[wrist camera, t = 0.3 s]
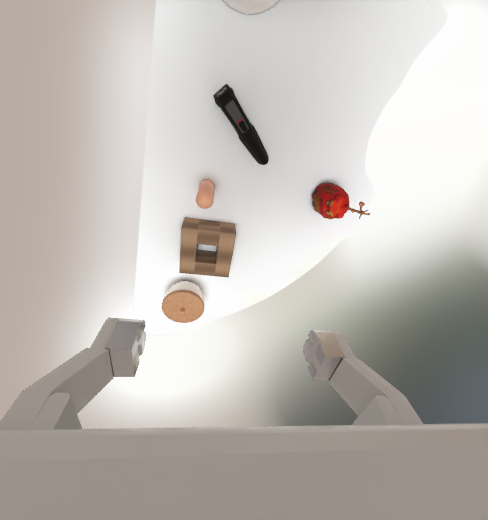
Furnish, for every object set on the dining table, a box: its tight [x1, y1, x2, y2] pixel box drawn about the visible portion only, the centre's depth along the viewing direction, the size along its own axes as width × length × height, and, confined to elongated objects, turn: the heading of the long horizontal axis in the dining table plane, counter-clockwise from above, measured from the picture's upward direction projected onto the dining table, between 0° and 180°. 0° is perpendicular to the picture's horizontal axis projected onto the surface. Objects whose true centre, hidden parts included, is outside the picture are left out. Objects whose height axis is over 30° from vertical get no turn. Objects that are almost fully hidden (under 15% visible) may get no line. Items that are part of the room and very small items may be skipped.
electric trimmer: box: [214, 84, 268, 165], centre depth 46 cm, size 4×16×3 cm, turn 35°
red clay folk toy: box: [312, 183, 370, 219], centre depth 50 cm, size 8×7×15 cm
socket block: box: [180, 217, 236, 277], centre depth 57 cm, size 12×12×6 cm
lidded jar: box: [162, 281, 204, 323], centre depth 63 cm, size 11×11×9 cm
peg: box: [196, 179, 214, 209], centre depth 48 cm, size 3×3×10 cm
